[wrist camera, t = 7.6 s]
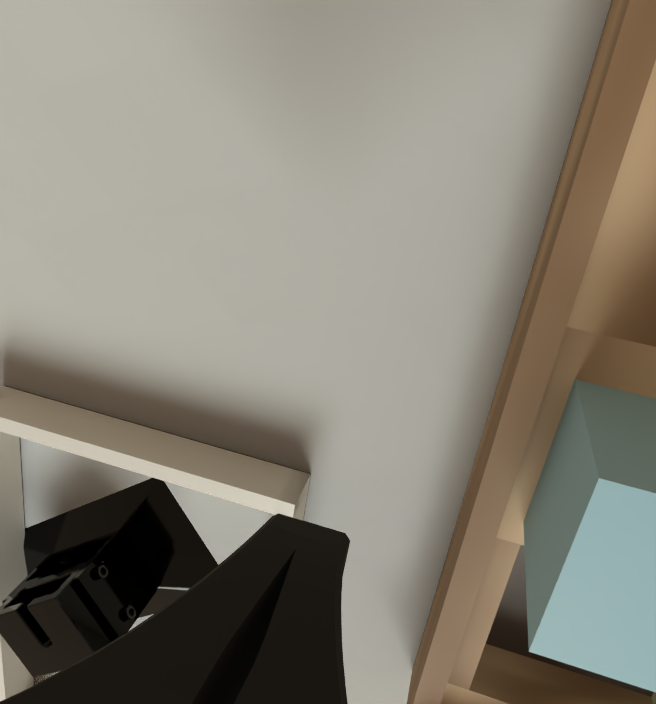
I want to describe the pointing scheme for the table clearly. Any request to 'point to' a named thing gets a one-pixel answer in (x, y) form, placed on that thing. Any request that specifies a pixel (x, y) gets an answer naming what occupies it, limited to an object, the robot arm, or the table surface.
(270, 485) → the frame
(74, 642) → the black angular piece
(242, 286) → the table surface
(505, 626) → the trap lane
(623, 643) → the teal block
